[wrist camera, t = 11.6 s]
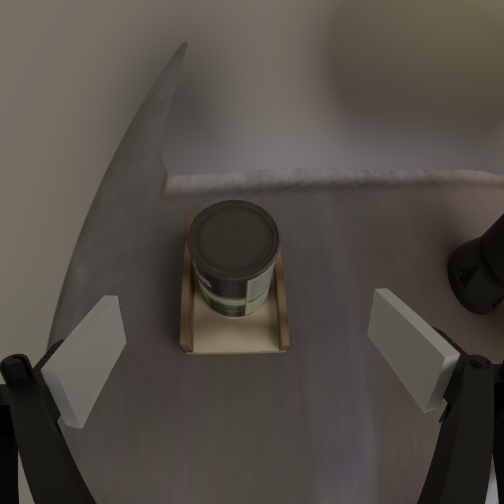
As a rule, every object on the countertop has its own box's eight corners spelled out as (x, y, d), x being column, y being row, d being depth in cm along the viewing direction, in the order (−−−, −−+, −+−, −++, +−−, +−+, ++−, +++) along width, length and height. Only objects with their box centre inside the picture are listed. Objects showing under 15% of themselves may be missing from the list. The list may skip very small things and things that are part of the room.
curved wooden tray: (285, 352, 43) (292, 342, 37) (187, 354, 42) (179, 344, 36) (274, 234, 53) (278, 211, 47) (192, 236, 52) (187, 213, 46)
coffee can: (210, 328, 43) (198, 290, 30) (194, 266, 47) (179, 210, 35) (279, 308, 45) (294, 264, 32) (257, 249, 49) (263, 191, 37)
